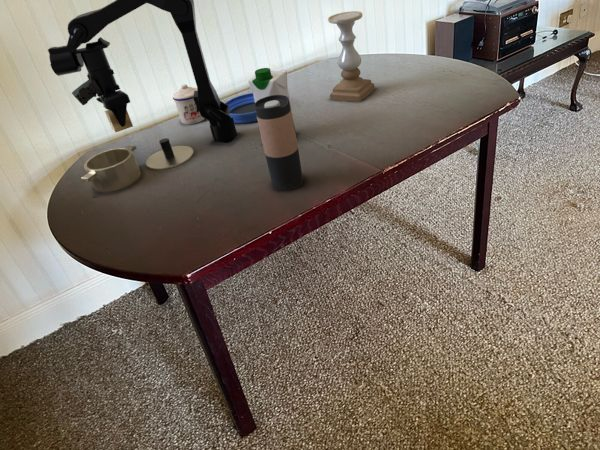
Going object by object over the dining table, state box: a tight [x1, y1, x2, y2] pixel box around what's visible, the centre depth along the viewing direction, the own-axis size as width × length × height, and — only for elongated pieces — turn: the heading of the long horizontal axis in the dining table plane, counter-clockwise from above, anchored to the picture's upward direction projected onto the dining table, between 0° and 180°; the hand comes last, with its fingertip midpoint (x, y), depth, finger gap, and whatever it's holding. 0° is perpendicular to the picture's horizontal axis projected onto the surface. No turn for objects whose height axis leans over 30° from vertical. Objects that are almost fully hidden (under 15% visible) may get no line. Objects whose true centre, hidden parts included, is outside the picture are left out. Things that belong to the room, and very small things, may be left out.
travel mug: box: [255, 95, 304, 191], centre depth 104 cm, size 8×8×20 cm
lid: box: [145, 137, 195, 171], centre depth 129 cm, size 13×13×6 cm
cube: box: [104, 109, 134, 133], centre depth 129 cm, size 5×5×5 cm
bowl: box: [224, 92, 258, 124], centre depth 150 cm, size 18×18×4 cm
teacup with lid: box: [172, 83, 206, 125], centre depth 151 cm, size 12×9×12 cm
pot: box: [81, 144, 142, 193], centre depth 123 cm, size 12×18×7 cm
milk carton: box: [248, 67, 297, 135], centre depth 125 cm, size 9×9×20 cm
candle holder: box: [327, 10, 376, 103], centre depth 143 cm, size 11×11×24 cm
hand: (120, 123), depth 130 cm, fingers closed on cube, 5 cm apart
